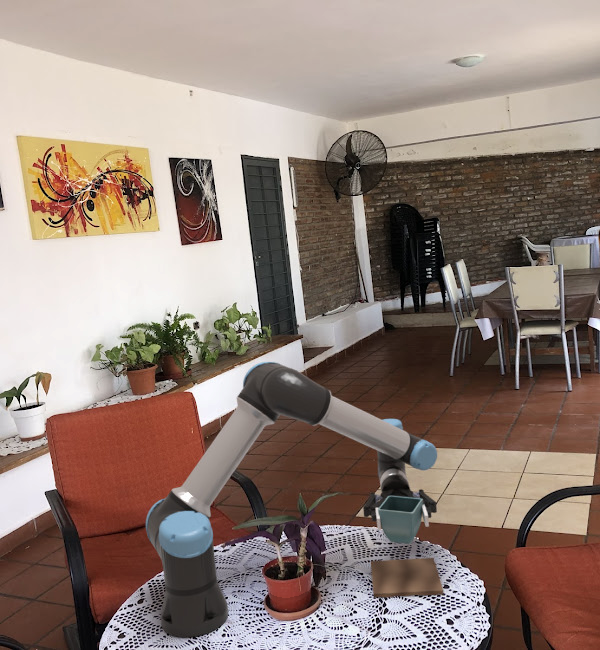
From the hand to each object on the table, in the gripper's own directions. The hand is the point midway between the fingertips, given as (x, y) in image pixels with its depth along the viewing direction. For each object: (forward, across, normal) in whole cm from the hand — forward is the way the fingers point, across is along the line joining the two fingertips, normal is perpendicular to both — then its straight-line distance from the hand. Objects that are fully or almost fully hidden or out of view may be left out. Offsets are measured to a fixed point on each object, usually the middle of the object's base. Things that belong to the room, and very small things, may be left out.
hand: (402, 522), depth 157 cm
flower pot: (-4, 0, -6) cm, 7 cm away
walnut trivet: (-4, 0, -16) cm, 17 cm away
